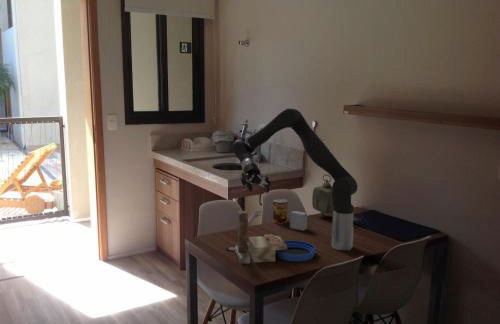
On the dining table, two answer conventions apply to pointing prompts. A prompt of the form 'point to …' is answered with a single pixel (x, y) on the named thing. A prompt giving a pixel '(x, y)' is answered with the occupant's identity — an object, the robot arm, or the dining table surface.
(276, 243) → the tile
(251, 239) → the beige square open box
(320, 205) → the tabletop clock
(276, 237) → the tile
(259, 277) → the dining table surface
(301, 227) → the medicine box
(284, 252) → the bowl
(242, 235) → the scraper
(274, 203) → the canned food
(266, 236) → the tile
